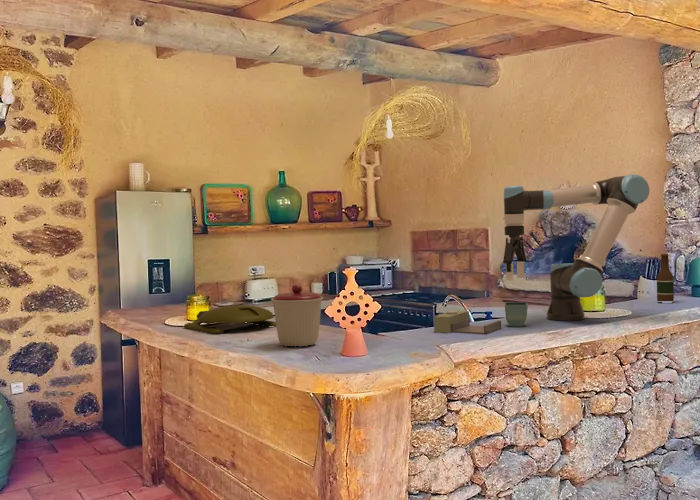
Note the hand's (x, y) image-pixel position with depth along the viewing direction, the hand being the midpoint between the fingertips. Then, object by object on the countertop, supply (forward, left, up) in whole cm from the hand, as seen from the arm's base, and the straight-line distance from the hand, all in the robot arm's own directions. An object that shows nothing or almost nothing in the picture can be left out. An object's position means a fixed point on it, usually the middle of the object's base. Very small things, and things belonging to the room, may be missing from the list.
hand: (515, 279), depth 276 cm
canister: (+54, +72, -19) cm, 92 cm away
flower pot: (0, 0, -19) cm, 19 cm away
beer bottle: (-41, -103, -19) cm, 113 cm away
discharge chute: (+10, +17, -18) cm, 27 cm away
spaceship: (+105, +47, -19) cm, 116 cm away
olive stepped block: (+20, +17, -18) cm, 32 cm away
